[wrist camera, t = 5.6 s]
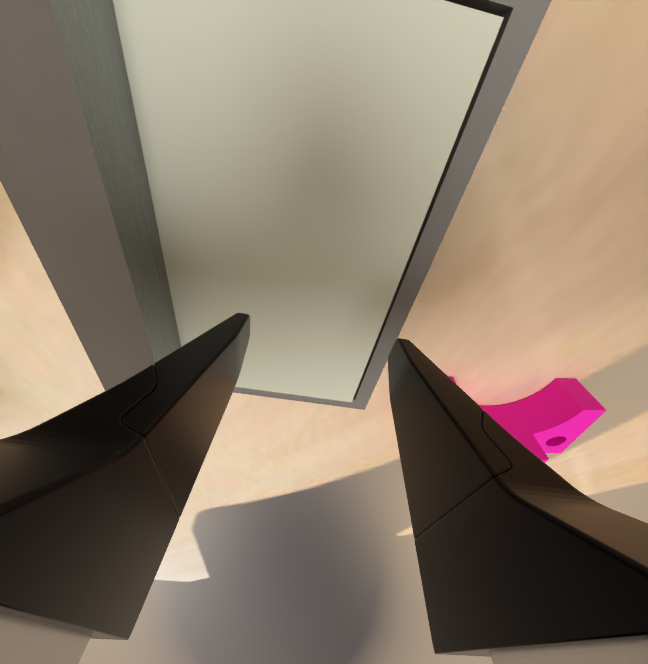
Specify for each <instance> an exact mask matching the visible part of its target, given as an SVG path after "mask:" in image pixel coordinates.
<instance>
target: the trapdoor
mask: <svg viewBox="0 0 648 664" xmlns="http://www.w3.org/2000/svg"><path fill="white" fill-rule="evenodd" d="M503 19H504V17H500V16H497V15H493V14H490V13H486V12H483V11H479V10H476V9H473V8H469V7H466V6H462V5H459V4H455V3H452V2H448V1H445V0H0V181H1V183H2V185H3V187H4V189H5V191H6V193H7V195H8V197H9V199H10V201H11V203H12V205H13V207H14V209H15V211H16V213H17V215H18V217H19V219H20V221H21V223H22V225H23V227H24V229H25V231H26V233H27V235H28V237H29V239H30V241H31V243H32V245H33V247H34V249H35V251H36V253H37V255H38V257H39V259H40V261H41V263H42V265H43V267H44V269H45V271H46V273H47V275H48V277H49V279H50V281H51V283H52V285H53V287H54V289H55V291H56V293H57V295H58V297H59V299H60V301H61V303H62V305H63V307H64V309H65V311H66V313H67V315H68V317H69V319H70V321H71V323H72V325H73V327H74V329H75V331H76V333H77V335H78V337H79V339H80V341H81V343H82V345H83V347H84V349H85V351H86V353H87V355H88V357H89V359H90V361H91V363H92V365H93V367H94V369H95V371H96V373H97V375H98V377H99V379H100V381H101V383H102V385H103V387H104V389H105V391H107V390H108V389H110V388H112V387H114V386H116V385H118V384H120V383H122V382H123V381H125V380H127V379H129V378H130V377H132V376H134V375H135V374H137V373H139V372H141V371H142V370H144V369H145V368H147V367H149V366H150V365H154V363H155V362H157V361H159V360H160V359H162V358H164V357H165V356H167V355H169V354H170V353H172V352H174V351H175V350H177V349H178V348H180V347H182V346H183V345H185V344H187V343H188V342H190V341H192V340H193V339H195V338H196V337H198V336H200V335H201V334H203V333H205V332H206V331H208V330H210V329H211V328H213V327H214V326H216V325H218V324H219V323H221V322H223V321H224V320H226V319H228V318H229V317H231V316H233V315H234V314H236V313H244V314H249V315H250V338H249V342H248V346H247V349H246V353H245V357H244V360H243V364H242V368H241V371H240V375H239V378H238V380H237V383H236V385H235V387H240V388H248V389H255V390H263V391H270V392H277V393H285V394H292V395H300V396H307V397H315V398H322V399H330V400H337V401H345V402H352V400H353V398H354V395H355V393H356V390H357V388H358V385H359V382H360V380H361V377H362V375H363V372H364V370H365V367H366V365H367V362H368V360H369V357H370V355H371V352H372V350H373V347H374V345H375V342H376V340H377V337H378V334H379V332H380V329H381V327H382V324H383V322H384V319H385V317H386V314H387V312H388V309H389V307H390V304H391V302H392V299H393V297H394V294H395V292H396V289H397V286H398V284H399V281H400V279H401V276H402V274H403V271H404V269H405V266H406V264H407V261H408V259H409V256H410V254H411V251H412V249H413V246H414V244H415V241H416V238H417V236H418V233H419V231H420V228H421V226H422V223H423V221H424V218H425V216H426V213H427V211H428V208H429V206H430V203H431V201H432V198H433V196H434V193H435V190H436V188H437V185H438V183H439V180H440V178H441V175H442V173H443V170H444V168H445V165H446V163H447V160H448V158H449V155H450V153H451V150H452V148H453V145H454V142H455V140H456V137H457V135H458V132H459V130H460V127H461V125H462V122H463V120H464V117H465V115H466V112H467V110H468V107H469V105H470V102H471V100H472V97H473V94H474V92H475V89H476V87H477V84H478V82H479V79H480V77H481V74H482V72H483V69H484V67H485V64H486V62H487V59H488V57H489V54H490V52H491V49H492V46H493V44H494V41H495V39H496V36H497V34H498V31H499V29H500V26H501V24H502V21H503Z"/></svg>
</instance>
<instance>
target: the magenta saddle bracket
mask: <svg viewBox="0 0 648 664" xmlns="http://www.w3.org/2000/svg"><path fill="white" fill-rule="evenodd" d="M449 378H450V379H451V380H452V381H453V382H454V383H455V381H454V378H453V377H449ZM455 384H456V383H455ZM479 406H480V405H479ZM480 407H481V408H482V409H483V411H485V412H487V413H488V414H489V415H490V416H491V417H492V418H493V419H494V420H495V421H496V422H497V423H498V424H499V425H501V426H502V427H503V428H504V429H505V430H506V431H507V432H508V433H509V434H511V435H512V436H513V437H514V438H515V439H517V440H518V441H519V442H520V443H521V444H522V445H524V446H525V447H526V448H527V449H528V450H530V451H531V452H532V453H533V454H534V455H536V456H537V457H538V458H539V459H540V460H542V461H543V462H544V463H545V462H546V461H547V460H548V459H549V458H548V457H547V455H546V454H545V453H561V452H563V451H564V450H565V449H566V448H567V447H568V446H569V445H570V444H571V443H572V442H573V441H574V440H575V439H576V438H577V437H579V436H580V435H581V434H582V433H583V432H584V431H585V430H586V429H587V428H588V427H589V426H590V425H591V424H592V423H594V422H595V420H597V419H598V418H599V417H600V416H601V415H602V414H603V413H604V412H605V411H606V410H605V408H604V407H603V406H602V405H601V404H600V403H599V402H598V401H597V400H596V399H595V398H594V397H593V396H592V395H591V394H590V393H589V392H588V391H587V390H586V389H585V388H584V387H583V385H582V384H581V383H580V382H579V381H578V380H577V379H555V380H554V381H553V382H552V383H550V384H549V385H548V386H547V387H545V388H544V389H542V390H541V391H539V392H537V393H536V394H534V395H532V396H530V397H527V398H525V399H522V400H519V401H516V402H513V403H509V404H504V405H497V406H480Z"/></svg>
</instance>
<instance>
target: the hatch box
mask: <svg viewBox="0 0 648 664" xmlns="http://www.w3.org/2000/svg"><path fill="white" fill-rule="evenodd" d="M445 1H448V2H452V3H455V4H459V5H462V6H466V7H469V8H473V9H476V10H479V11H483V12H486V13H490V14H493V15H497V16H500V17H504V19H503V21H502V24H501V26H500V29H499V31H498V34H497V36H496V39H495V41H494V44H493V46H492V49H491V52H490V54H489V57H488V59H487V62H486V64H485V67H484V69H483V72H482V74H481V77H480V79H479V82H478V84H477V87H476V89H475V92H474V94H473V97H472V100H471V102H470V105H469V107H468V110H467V112H466V115H465V117H464V120H463V122H462V125H461V127H460V130H459V132H458V135H457V137H456V140H455V142H454V145H453V148H452V150H451V153H450V155H449V158H448V160H447V163H446V165H445V168H444V170H443V173H442V175H441V178H440V180H439V183H438V185H437V188H436V190H435V193H434V196H433V198H432V201H431V203H430V206H429V208H428V211H427V213H426V216H425V218H424V221H423V223H422V226H421V228H420V231H419V233H418V236H417V238H416V241H415V244H414V246H413V249H412V251H411V254H410V256H409V259H408V261H407V264H406V266H405V269H404V271H403V274H402V276H401V279H400V281H399V284H398V286H397V289H396V292H395V294H394V297H393V299H392V302H391V304H390V307H389V309H388V312H387V314H386V317H385V319H384V322H383V324H382V327H381V329H380V332H379V334H378V337H377V340H376V342H375V345H374V347H373V350H372V352H371V355H370V357H369V360H368V362H367V365H366V367H365V370H364V372H363V375H362V377H361V380H360V382H359V385H358V388H357V390H356V393H355V395H354V398H353V400H352V402H345V401H337V400H330V399H322V398H315V397H307V396H300V395H292V394H285V393H277V392H270V391H263V390H255V389H248V388H240V387H235V388H234V390H233V392H235V393H242V394H250V395H257V396H265V397H273V398H280V399H288V400H295V401H303V402H311V403H318V404H326V405H333V406H341V407H349V408H356V409H364V410H365V408H366V405H367V403H368V401H369V399H370V397H371V394H372V392H373V390H374V388H375V386H376V384H377V381H378V379H379V377H380V375H381V373H382V370H383V368H384V366H385V364H386V362H387V359H388V356H389V354H390V351H391V349H392V347H393V345H394V343H395V341H396V340H397V338H398V335H399V333H400V331H401V329H402V327H403V324H404V322H405V320H406V318H407V316H408V313H409V311H410V309H411V307H412V305H413V302H414V300H415V298H416V296H417V294H418V291H419V289H420V287H421V285H422V283H423V281H424V278H425V276H426V274H427V272H428V270H429V267H430V265H431V263H432V261H433V259H434V256H435V254H436V252H437V250H438V248H439V245H440V243H441V241H442V239H443V237H444V235H445V232H446V230H447V228H448V226H449V224H450V221H451V219H452V217H453V215H454V213H455V210H456V208H457V206H458V204H459V202H460V199H461V197H462V195H463V193H464V191H465V189H466V186H467V184H468V182H469V180H470V178H471V175H472V173H473V171H474V169H475V167H476V164H477V162H478V160H479V158H480V156H481V153H482V151H483V149H484V147H485V145H486V143H487V140H488V138H489V136H490V134H491V132H492V129H493V127H494V125H495V123H496V121H497V118H498V116H499V114H500V112H501V110H502V107H503V105H504V103H505V101H506V99H507V96H508V94H509V92H510V90H511V88H512V86H513V83H514V81H515V79H516V77H517V75H518V72H519V70H520V68H521V66H522V64H523V61H524V59H525V57H526V55H527V53H528V50H529V48H530V46H531V44H532V42H533V40H534V37H535V35H536V33H537V31H538V29H539V26H540V24H541V22H542V20H543V18H544V15H545V13H546V11H547V9H548V7H549V4H550V2H551V0H445Z"/></svg>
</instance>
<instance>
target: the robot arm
mask: <svg viewBox="0 0 648 664" xmlns="http://www.w3.org/2000/svg"><path fill="white" fill-rule="evenodd" d="M249 338H250V315H249V314H244V313H236V314H234V315H233V316H231V317H229V318H228V319H226V320H224V321H223V322H221V323H219V324H218V325H216V326H214V327H213V328H211V329H210V330H208V331H206V332H205V333H203V334H201V335H200V336H198V337H196V338H195V339H193V340H192V341H190V342H188V343H187V344H185V345H183V346H182V347H180V348H178V349H177V350H175V351H174V352H172V353H170V354H169V355H167V356H165V357H164V358H162V359H160V360H159V361H157V362H155V363H154V365H150V366H149V367H147V368H145V369H144V370H142V371H141V372H139V373H137V374H135V375H134V376H132V377H130V378H129V379H127V380H125V381H123V382H122V383H120V384H118V385H116V386H114V387H112V388H110V389H108V390H107V391H105V392H103V393H101V394H99V395H97V396H95V397H93V398H91V399H89V400H87V401H85V402H83V403H81V404H79V405H77V406H75V407H73V408H71V409H69V410H67V411H66V412H64V413H62V414H60V415H58V416H56V417H54V418H52V419H50V420H48V421H46V422H44V423H42V424H40V425H38V426H36V427H33V428H31V429H29V430H27V431H24V432H22V433H19V434H17V435H14V436H11V437H7V438H4V439H0V664H78V663H79V661H80V659H81V657H82V655H83V653H84V650H85V648H86V646H87V644H88V642H89V640H90V638H95V639H118V640H128V639H129V637H130V635H131V633H132V630H133V628H134V626H135V623H136V621H137V619H138V616H139V614H140V611H141V609H142V607H143V604H144V602H145V600H146V597H147V595H148V592H149V590H150V588H151V585H152V583H153V581H154V578H155V576H156V573H157V571H158V569H159V566H160V564H161V561H162V559H163V557H164V554H165V552H166V550H167V547H168V545H169V542H170V540H171V538H172V535H173V533H174V531H175V528H176V526H177V523H178V521H179V517H180V516H181V514H182V511H183V509H184V507H185V504H186V502H187V499H188V497H189V495H190V492H191V490H192V488H193V485H194V483H195V480H196V478H197V476H198V473H199V471H200V469H201V466H202V464H203V461H204V459H205V457H206V454H207V452H208V450H209V447H210V445H211V442H212V440H213V438H214V435H215V433H216V430H217V428H218V426H219V423H220V421H221V419H222V416H223V414H224V411H225V409H226V407H227V404H228V402H229V400H230V397H231V395H232V392H233V390H234V388H235V385H236V383H237V380H238V378H239V375H240V371H241V368H242V364H243V360H244V357H245V353H246V349H247V346H248V342H249ZM388 373H389V392H390V402H391V408H392V413H393V419H394V425H395V431H396V436H397V442H398V448H399V453H400V459H401V465H402V470H403V476H404V482H405V488H406V493H407V499H408V505H409V511H410V516H411V522H412V528H413V533H414V538H415V546H416V552H417V557H418V563H419V569H420V574H421V580H422V586H423V592H424V597H425V602H426V609H427V614H428V620H429V626H430V632H431V637H432V642H433V647H434V652H435V654H447V655H468V656H491V658H492V661H493V664H648V523H645V522H643V521H640V520H638V519H635V518H632V517H630V516H628V515H625V514H622V513H620V512H617V511H615V510H612V509H610V508H608V507H606V506H603V505H602V504H600V503H597V502H596V501H594V500H592V499H590V498H589V497H587V496H586V495H584V494H583V493H581V492H580V491H578V490H577V489H576V488H574V487H573V486H572V485H571V484H569V483H568V482H567V481H566V480H565V479H563V478H562V477H561V476H560V475H559V474H557V473H556V472H555V471H554V470H552V469H551V468H550V467H549V466H548V465H546V464H545V463H544V462H543V461H542V460H540V459H539V458H538V457H537V456H536V455H534V454H533V453H532V452H531V451H530V450H528V449H527V448H526V447H525V446H524V445H522V444H521V443H520V442H519V441H518V440H517V439H515V438H514V437H513V436H512V435H511V434H509V433H508V432H507V431H506V430H505V429H504V428H503V427H502V426H501V425H499V424H498V423H497V422H496V421H495V420H494V419H493V418H492V417H491V416H490V415H489V414H488V413H487V412H485V411H483V409H482V408H481V407H480V406H479V405H478V404H477V403H476V402H475V401H474V400H472V399H471V398H470V397H469V396H468V395H467V394H466V393H465V392H464V391H463V390H462V389H461V388H460V387H459V386H457V385H456V384H455V383H454V382H453V381H452V380H451V379H450V378H449V377H448V376H447V375H446V374H445V373H444V372H442V371H441V370H440V369H439V368H438V367H437V366H436V365H435V364H434V363H433V362H432V361H431V360H430V359H429V358H427V357H426V356H425V355H424V354H423V353H422V352H421V351H420V350H419V349H418V348H417V347H416V346H415V345H414V344H412V343H411V342H410V341H409V340H406V339H400V338H398V339H397V340H396V341H395V343H394V345H393V347H392V349H391V351H390V354H389V356H388Z"/></svg>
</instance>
